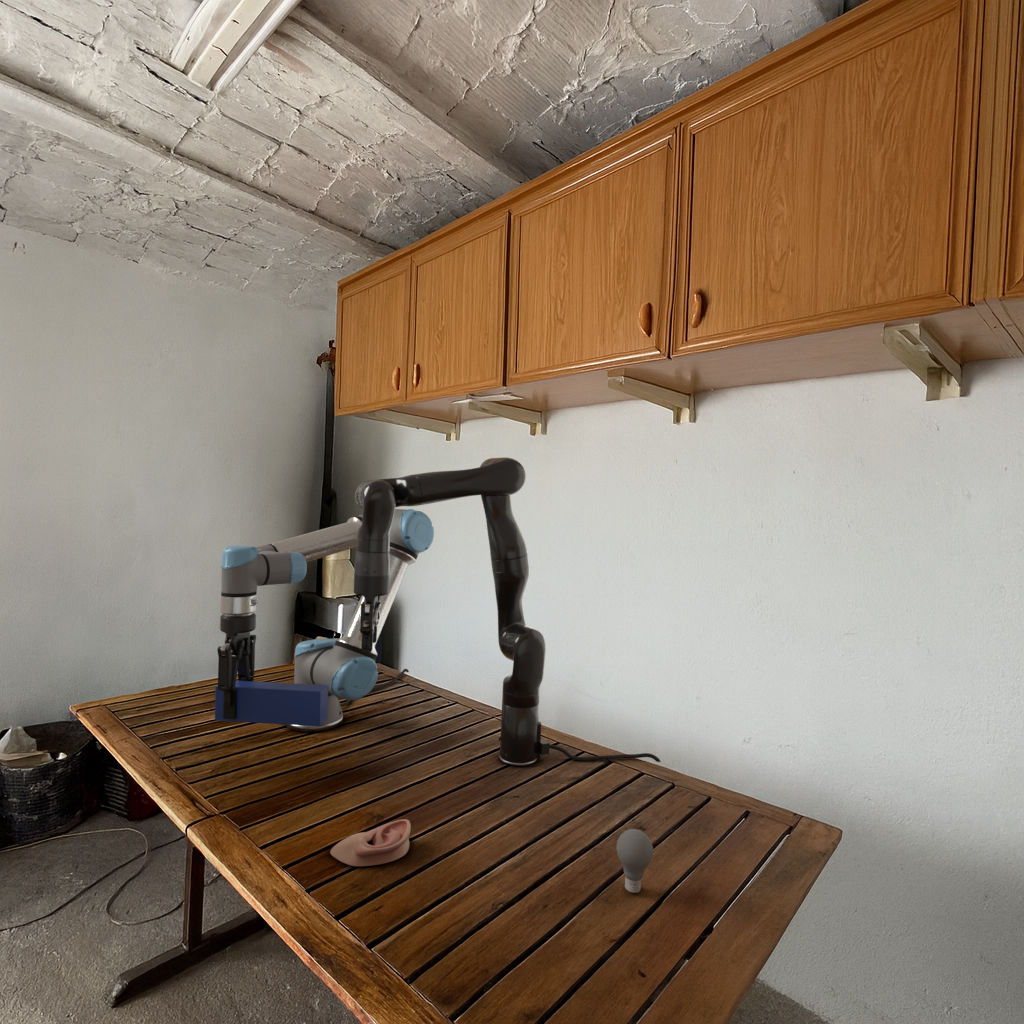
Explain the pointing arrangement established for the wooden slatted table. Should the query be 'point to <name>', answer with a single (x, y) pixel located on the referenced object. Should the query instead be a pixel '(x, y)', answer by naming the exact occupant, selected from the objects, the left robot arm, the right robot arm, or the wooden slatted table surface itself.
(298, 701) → the bar
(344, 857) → the anatomical model
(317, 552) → the left robot arm
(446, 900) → the wooden slatted table surface
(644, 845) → the light bulb
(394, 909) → the wooden slatted table surface
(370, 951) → the wooden slatted table surface
